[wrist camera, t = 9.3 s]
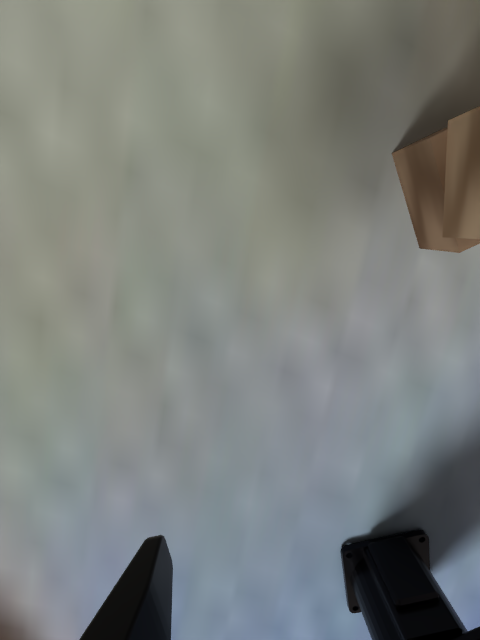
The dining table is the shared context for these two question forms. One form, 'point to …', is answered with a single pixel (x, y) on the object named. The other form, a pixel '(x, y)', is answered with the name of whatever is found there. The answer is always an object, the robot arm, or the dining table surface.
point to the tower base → (427, 191)
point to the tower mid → (462, 177)
